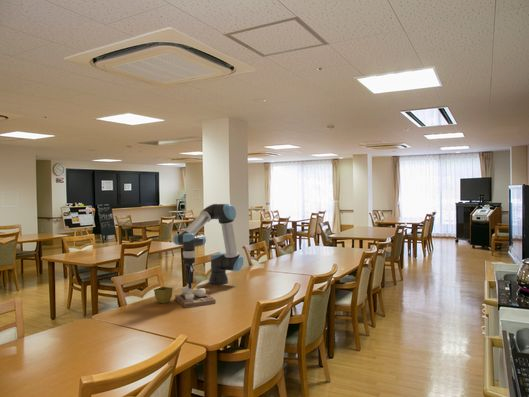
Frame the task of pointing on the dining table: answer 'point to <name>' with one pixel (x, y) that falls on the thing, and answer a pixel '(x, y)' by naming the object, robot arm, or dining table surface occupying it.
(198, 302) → the egg tray
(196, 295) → the white egg
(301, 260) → the dining table surface
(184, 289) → the white egg
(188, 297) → the cream rounded oval
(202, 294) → the white egg
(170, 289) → the flower pot
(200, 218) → the robot arm
